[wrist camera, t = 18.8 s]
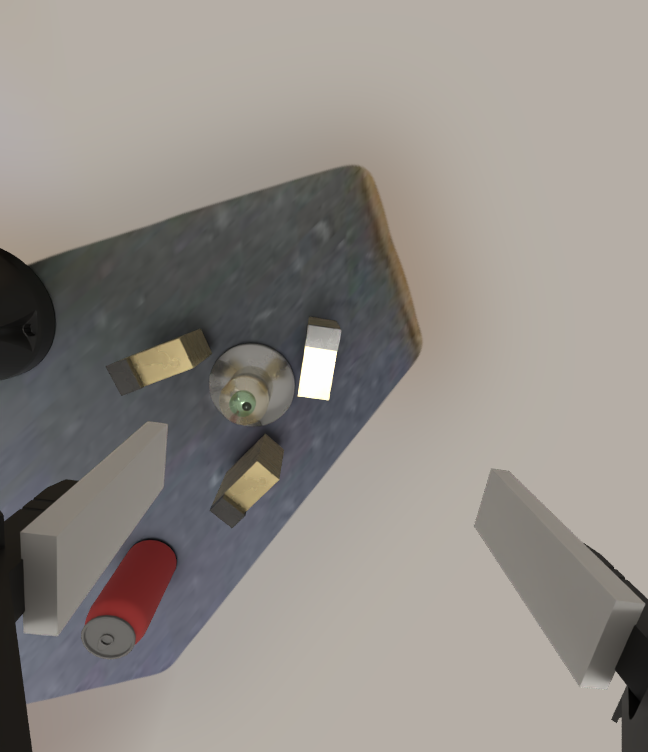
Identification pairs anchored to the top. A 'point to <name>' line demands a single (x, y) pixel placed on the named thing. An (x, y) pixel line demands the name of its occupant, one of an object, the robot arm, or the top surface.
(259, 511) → the top surface
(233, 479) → the brass wedge block
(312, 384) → the brass angular block
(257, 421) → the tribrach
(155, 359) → the gold angular block
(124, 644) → the beer can
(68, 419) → the top surface
